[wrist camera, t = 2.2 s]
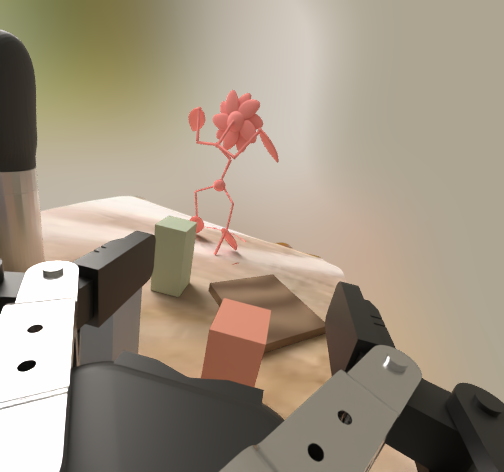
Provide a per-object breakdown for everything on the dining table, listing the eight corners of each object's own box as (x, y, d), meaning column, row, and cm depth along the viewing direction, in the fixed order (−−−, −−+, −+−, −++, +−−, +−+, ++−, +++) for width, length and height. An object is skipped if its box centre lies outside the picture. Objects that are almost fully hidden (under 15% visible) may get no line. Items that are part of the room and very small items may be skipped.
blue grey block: (111, 397, 29) (113, 302, 25) (68, 383, 30) (61, 288, 25) (137, 361, 34) (142, 276, 29) (99, 350, 34) (98, 264, 30)
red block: (240, 436, 28) (265, 344, 24) (193, 422, 28) (209, 329, 24) (248, 393, 33) (271, 310, 28) (208, 381, 33) (223, 297, 29)
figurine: (242, 271, 59) (281, 91, 47) (160, 229, 71) (175, 77, 59) (275, 253, 72) (313, 108, 60) (201, 221, 84) (220, 93, 72)
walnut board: (208, 290, 50) (209, 283, 50) (271, 281, 58) (272, 274, 57) (253, 356, 38) (255, 347, 38) (325, 333, 46) (328, 325, 45)
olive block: (178, 297, 47) (186, 232, 43) (150, 289, 47) (155, 224, 43) (189, 282, 51) (197, 222, 47) (163, 276, 52) (169, 215, 48)
